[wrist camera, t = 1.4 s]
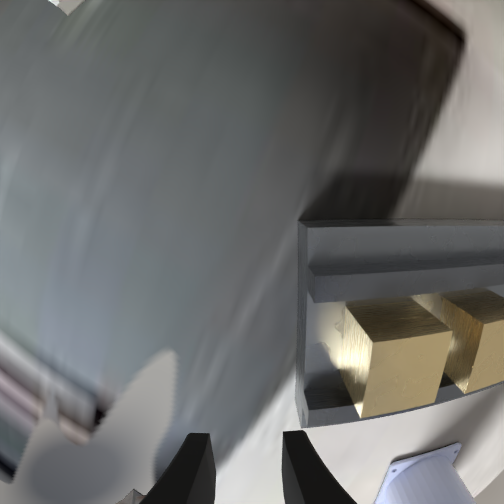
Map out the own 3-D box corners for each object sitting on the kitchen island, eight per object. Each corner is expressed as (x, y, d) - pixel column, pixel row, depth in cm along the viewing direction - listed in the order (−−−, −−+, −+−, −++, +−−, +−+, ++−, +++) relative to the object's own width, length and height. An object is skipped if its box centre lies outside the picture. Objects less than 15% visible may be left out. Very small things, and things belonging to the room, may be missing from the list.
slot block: (510, 357, 20) (542, 382, 16) (295, 399, 20) (305, 448, 16) (535, 221, 18) (577, 231, 13) (297, 220, 18) (315, 234, 13)
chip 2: (478, 348, 17) (513, 377, 13) (431, 358, 17) (464, 393, 13) (490, 290, 16) (531, 312, 12) (443, 297, 16) (484, 324, 12)
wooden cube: (403, 363, 17) (434, 402, 13) (339, 373, 17) (360, 418, 13) (414, 300, 16) (452, 330, 12) (345, 306, 16) (372, 342, 12)
